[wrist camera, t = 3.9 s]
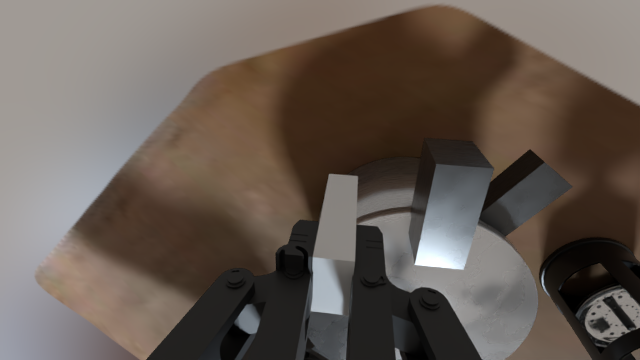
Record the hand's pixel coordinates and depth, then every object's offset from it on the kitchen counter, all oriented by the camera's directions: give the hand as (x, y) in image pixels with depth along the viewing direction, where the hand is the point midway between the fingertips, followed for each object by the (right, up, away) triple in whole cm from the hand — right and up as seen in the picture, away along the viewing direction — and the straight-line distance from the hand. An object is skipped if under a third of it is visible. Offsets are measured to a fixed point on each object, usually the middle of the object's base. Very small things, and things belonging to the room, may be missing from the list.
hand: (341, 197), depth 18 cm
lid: (+7, -7, +10) cm, 14 cm away
